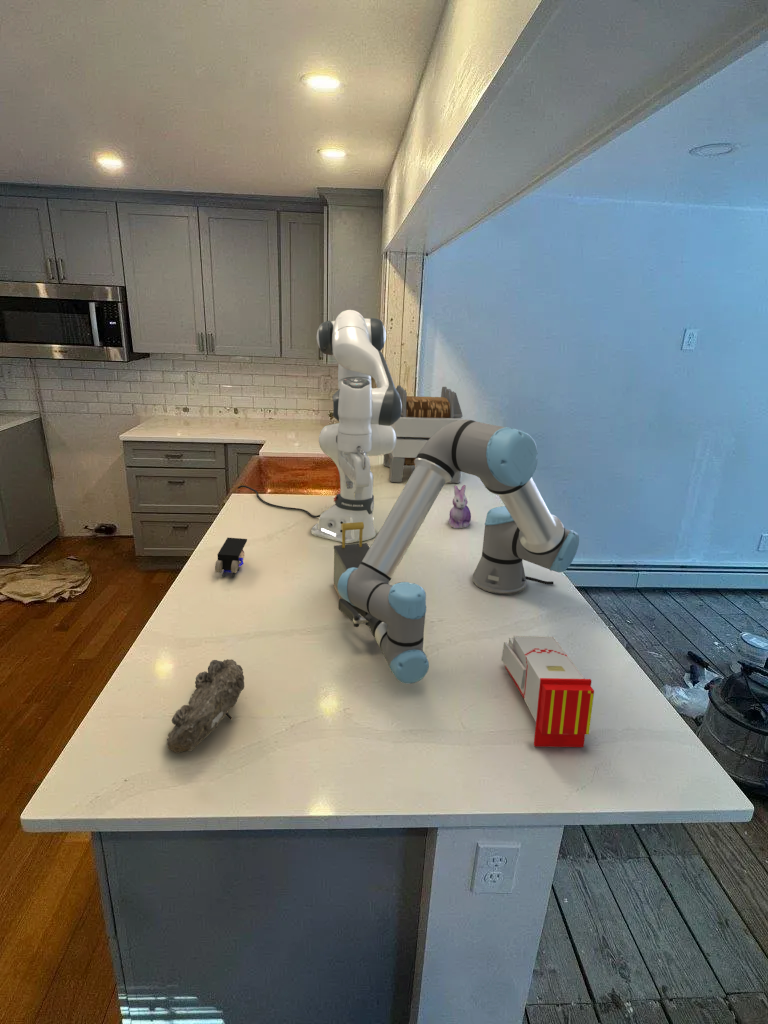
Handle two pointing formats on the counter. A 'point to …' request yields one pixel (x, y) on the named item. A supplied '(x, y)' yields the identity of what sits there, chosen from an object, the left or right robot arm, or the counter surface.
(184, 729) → the fossil
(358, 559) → the lid
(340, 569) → the chest
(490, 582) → the right robot arm
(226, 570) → the figurine character
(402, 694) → the counter surface
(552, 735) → the toy
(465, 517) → the figurine
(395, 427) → the transformer
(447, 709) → the counter surface
